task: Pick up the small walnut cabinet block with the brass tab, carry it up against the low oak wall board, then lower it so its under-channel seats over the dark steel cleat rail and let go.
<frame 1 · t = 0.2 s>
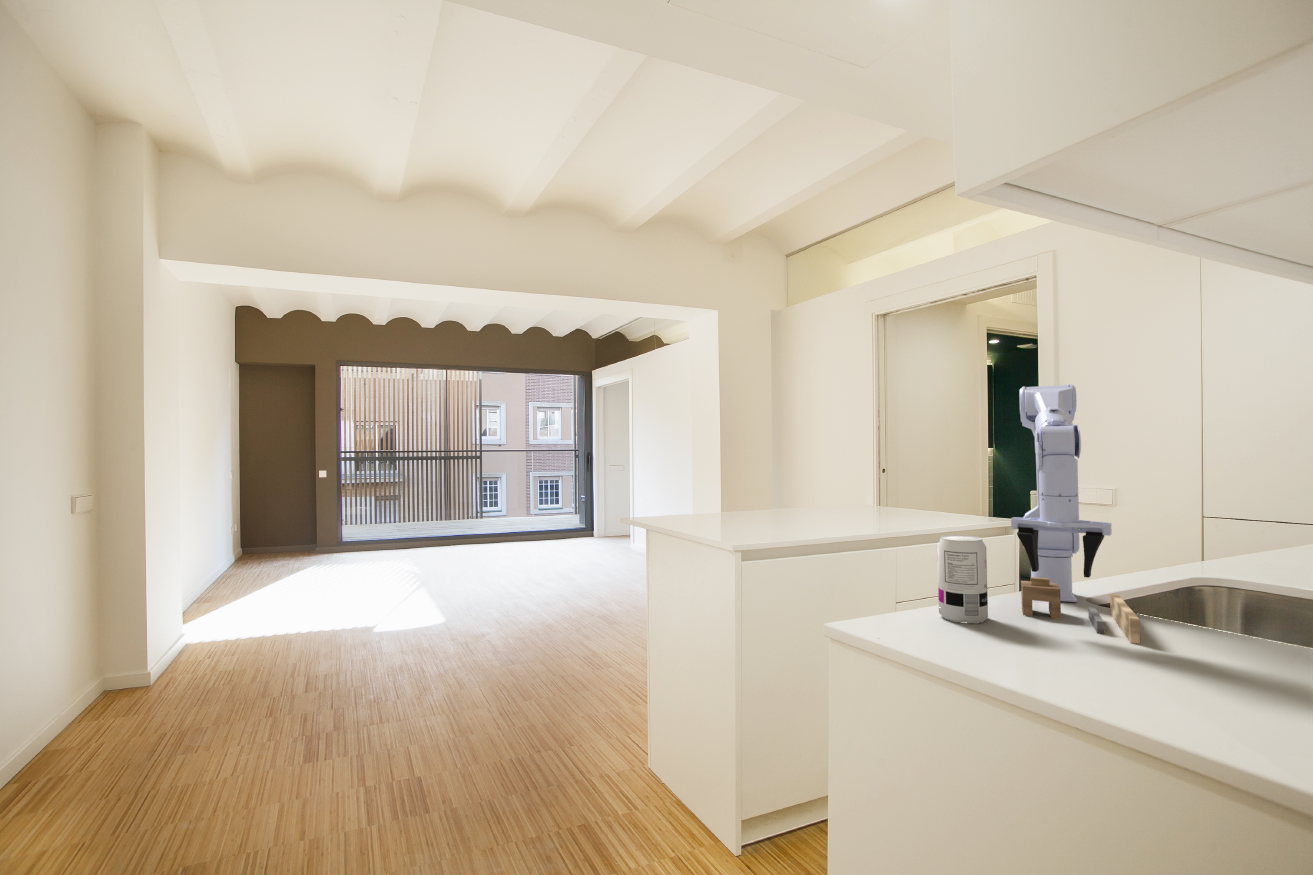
hand: (1060, 573, 108), 10 cm above the table, tool pointing down, fingers open, 7 cm apart
cleat board: (1096, 625, 110), on the table
cabinet block: (1040, 613, 119), on the table
supplement can: (963, 619, 117), on the table
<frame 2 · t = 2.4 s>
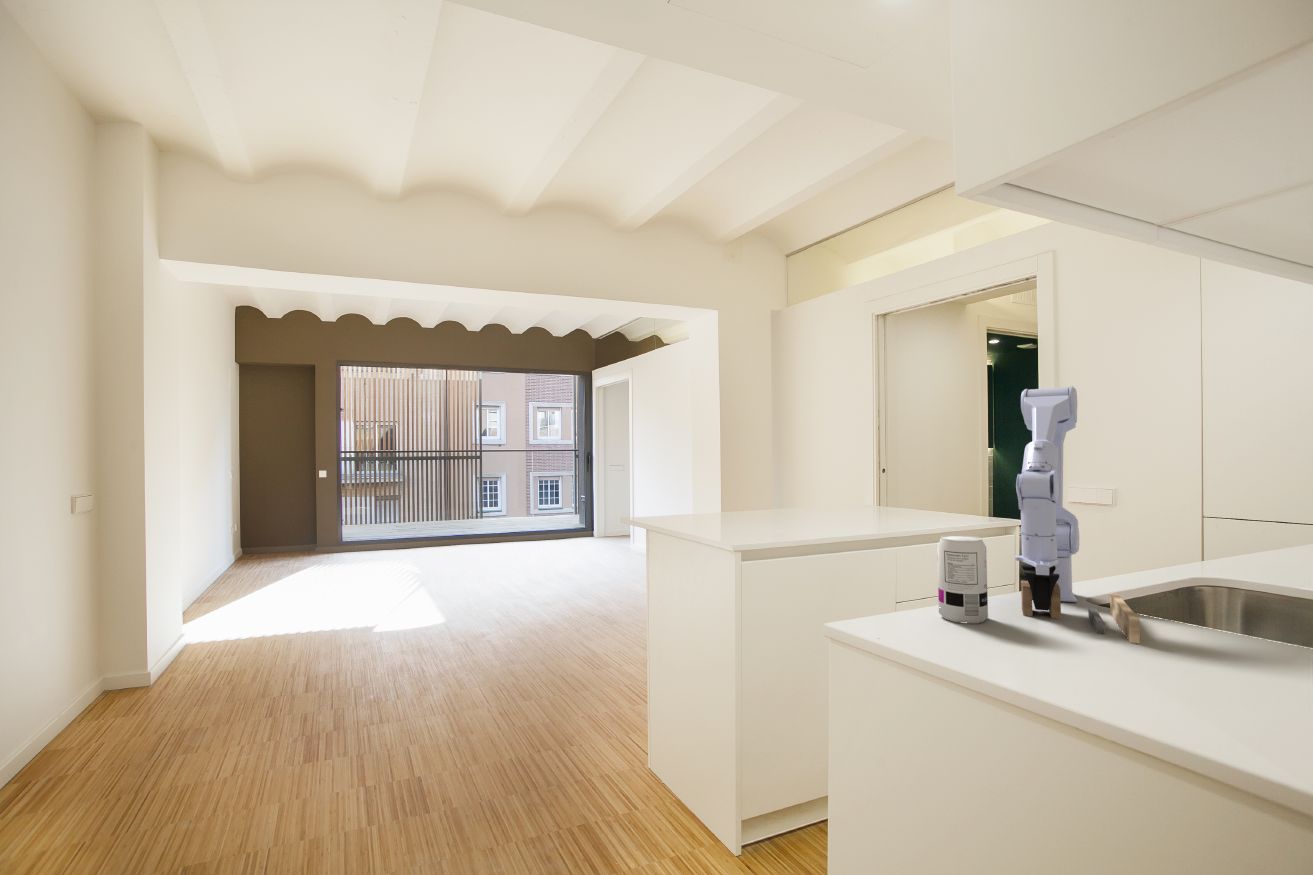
hand: (1040, 606, 119), 1 cm above the table, tool pointing down, fingers closed on cabinet block, 5 cm apart
cabinet block: (1040, 613, 119), on the table, touching gripper
everything else where it was.
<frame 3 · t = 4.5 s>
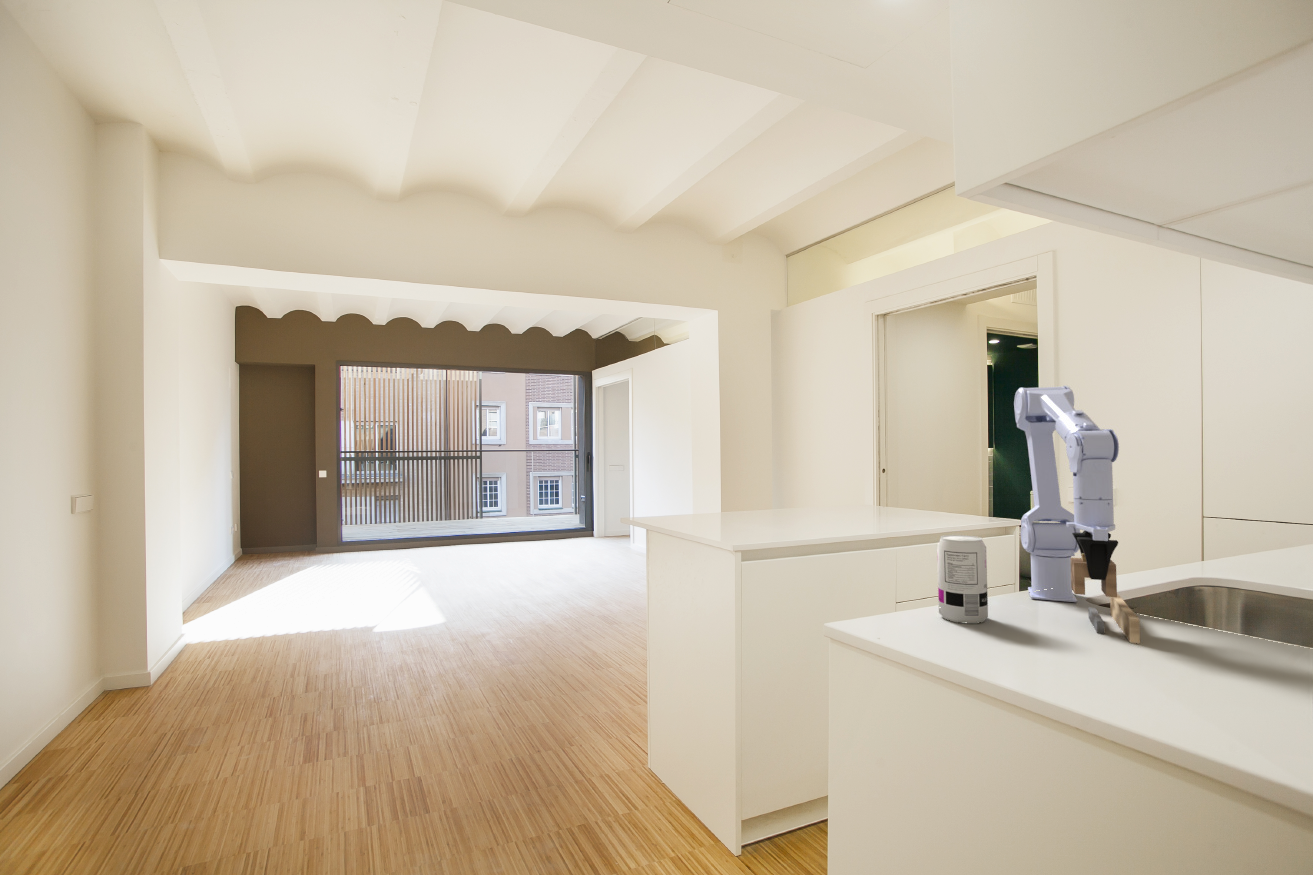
hand: (1095, 576, 110), 9 cm above the table, tool pointing down, fingers closed on cabinet block, 5 cm apart
cabinet block: (1093, 592, 110), point 6 cm above the table, touching gripper
everything else where it was.
when the fingers open (3 cm above the table, at t = 6.9 s): cabinet block stays where it is, on the table.
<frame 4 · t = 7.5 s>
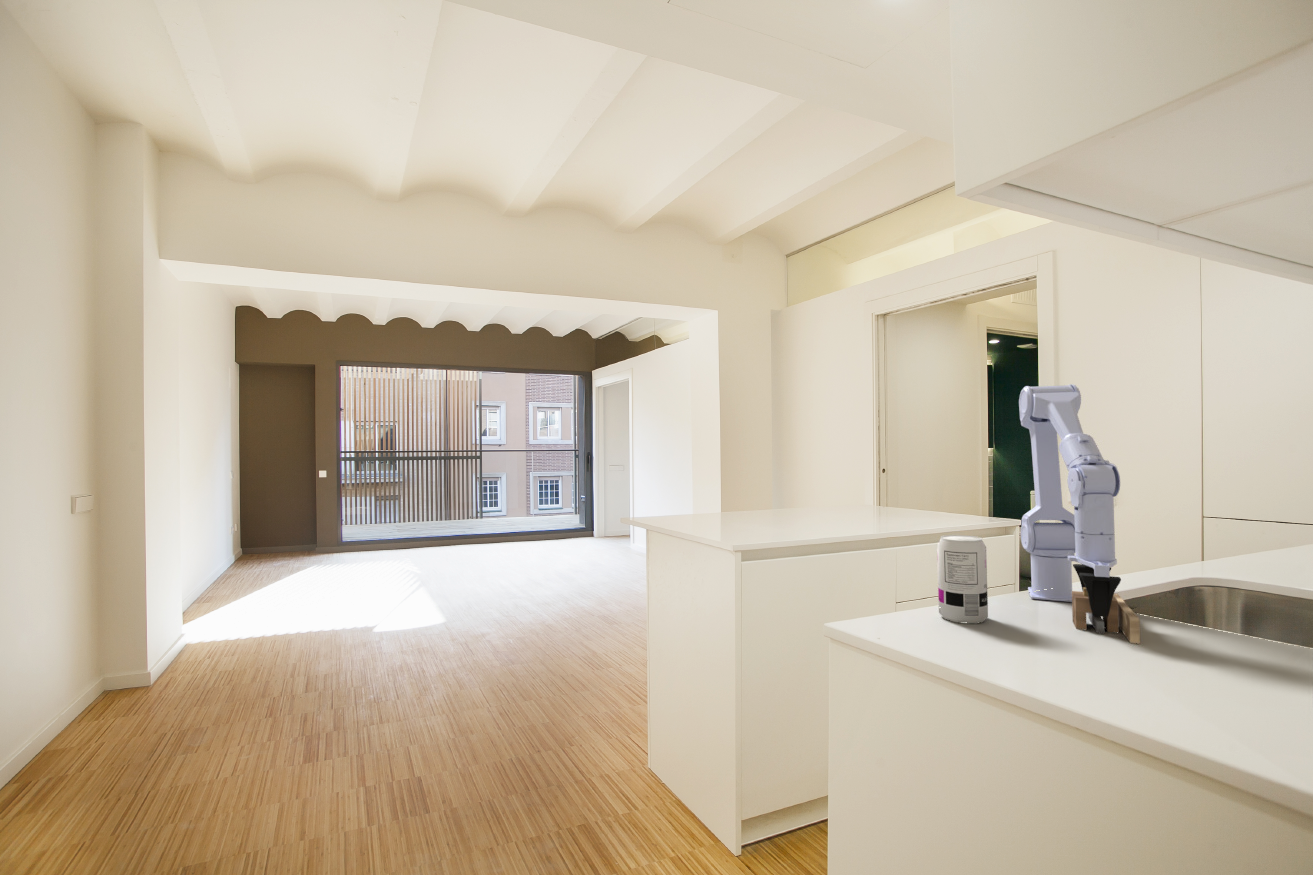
hand: (1096, 610, 110), 3 cm above the table, tool pointing down, fingers open, 7 cm apart
cabinet block: (1094, 626, 110), on the table
everything else where it was.
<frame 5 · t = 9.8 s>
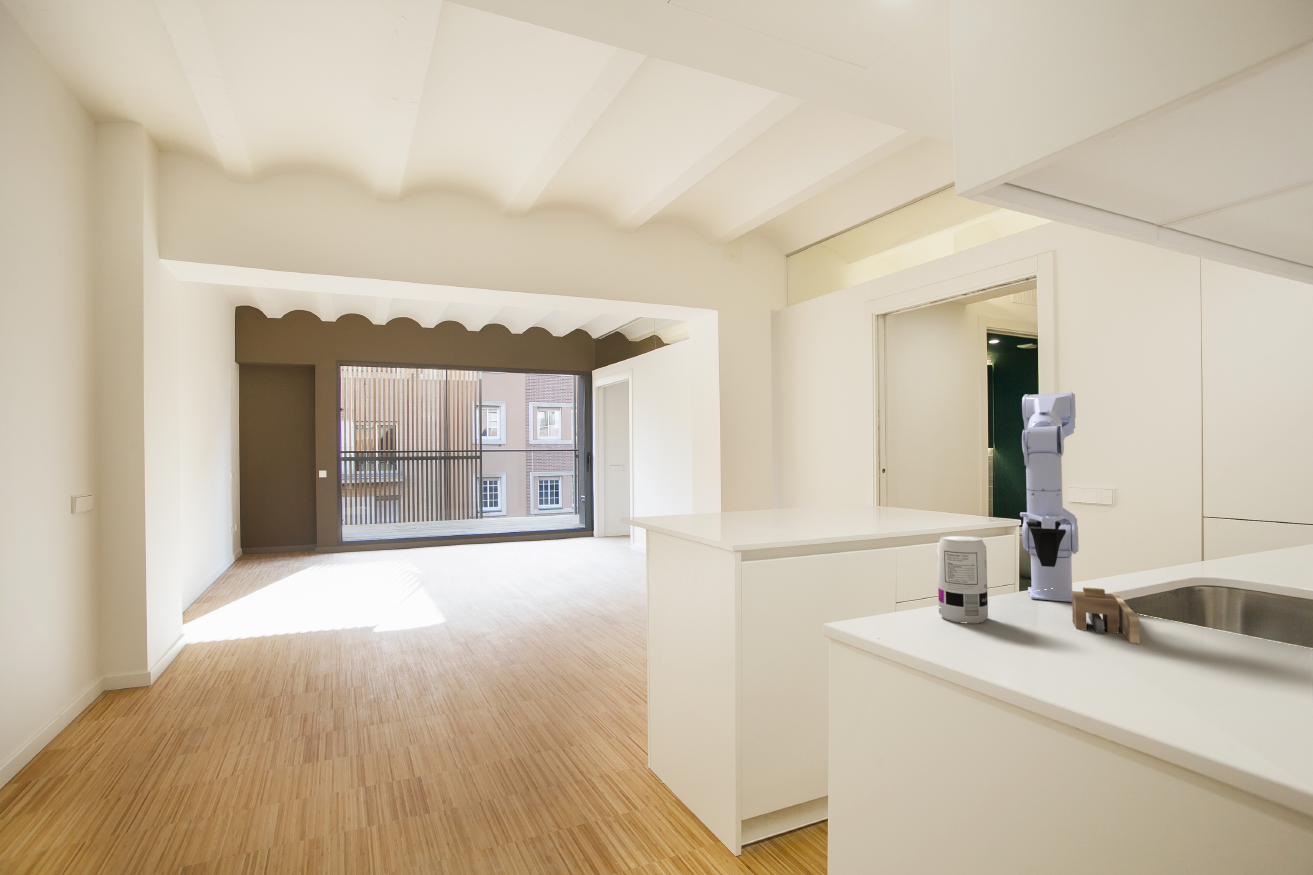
hand: (1046, 562, 117), 10 cm above the table, tool pointing down, fingers open, 7 cm apart
nothing on the table moved.
at the end: cabinet block inside the target area on the cleat board (1.0 cm from its centre), point 0.0 cm above the cleat board's base; cabinet block tilted 0°; the gripper is holding nothing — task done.
